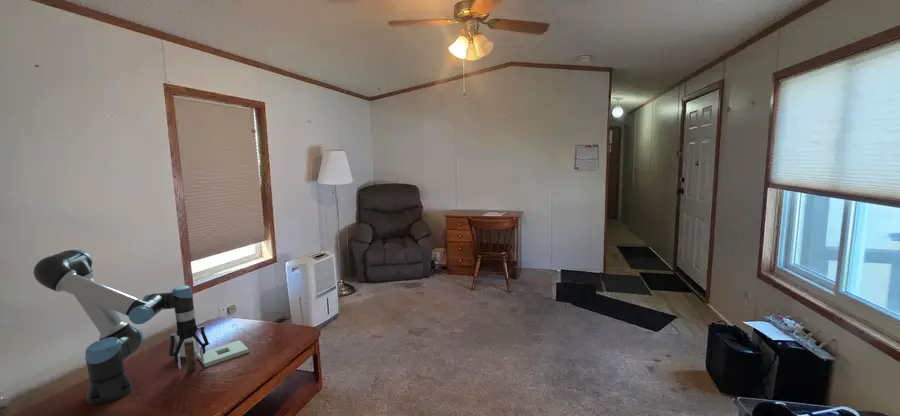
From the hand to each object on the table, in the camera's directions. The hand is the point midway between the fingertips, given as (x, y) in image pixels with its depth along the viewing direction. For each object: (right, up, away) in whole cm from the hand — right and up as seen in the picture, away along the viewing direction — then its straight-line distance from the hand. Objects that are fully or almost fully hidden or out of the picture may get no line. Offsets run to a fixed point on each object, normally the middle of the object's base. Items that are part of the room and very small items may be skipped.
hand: (191, 364), depth 194 cm
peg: (0, -3, 0) cm, 3 cm away
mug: (-14, -1, +16) cm, 21 cm away
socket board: (+7, -1, +14) cm, 16 cm away
